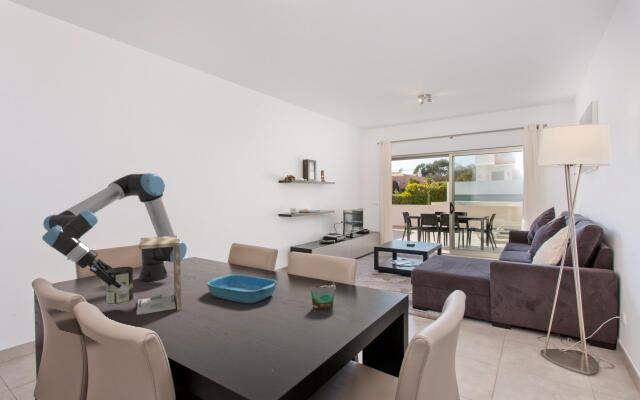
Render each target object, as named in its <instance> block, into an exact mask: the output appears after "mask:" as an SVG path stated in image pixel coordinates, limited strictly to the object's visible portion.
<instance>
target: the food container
mask: <svg viewBox="0 0 640 400" xmlns="http://www.w3.org/2000/svg"><path fill="white" fill-rule="evenodd" d="M336 289H337V287H336V284H335V282H332V283H331V284H328V285H327V284H324V285H323V284H322V285H319V286H312V285H310V287H309V292H311V293H310V295H311V303H312V309H313V308H315V309H314V310H316V309H319V310H318V311H326V310H325V309H329V310H331V309H333V308H332V307H333V306H334V296H335V291H336ZM330 308H331V309H330Z"/></svg>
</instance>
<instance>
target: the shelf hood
mask: <svg viewBox="0 0 640 400" xmlns="http://www.w3.org/2000/svg"><path fill="white" fill-rule="evenodd" d="M177 236H178V235H176V236H165V237H157V236H154V237H152V236H151V237H141V238H140V240H139V244H138V250H141V249H148V248H161V247H173V258H174V262H173V295H174V300H175V305H176V309H177V312H178V311H182V283H181V282H182V281H181V279H182V278H181V272H182V271H181V261H180V242H181V241H180V242H179V240H180V239H179V240H178V238H179V237H178V238H177Z"/></svg>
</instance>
